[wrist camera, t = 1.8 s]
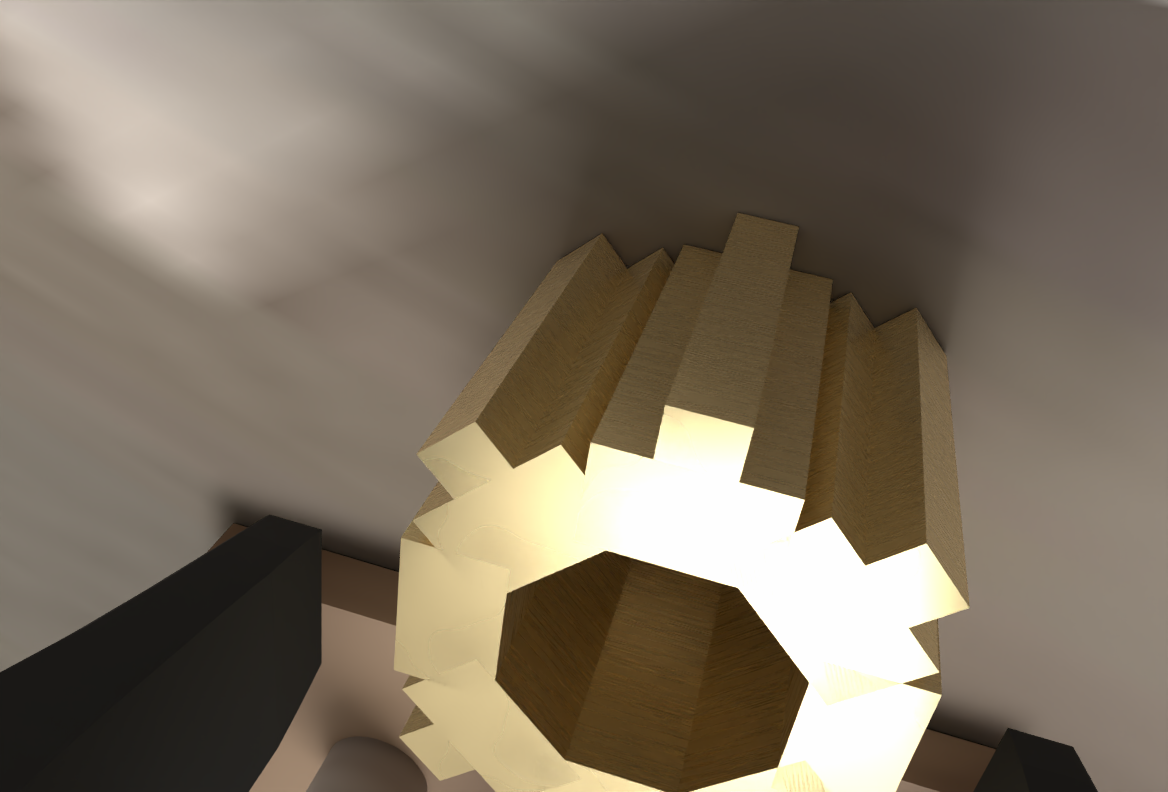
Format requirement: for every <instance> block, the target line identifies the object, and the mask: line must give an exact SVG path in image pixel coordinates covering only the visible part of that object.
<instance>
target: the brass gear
mask: <svg viewBox="0 0 1168 792" xmlns="http://www.w3.org/2000/svg"><path fill="white" fill-rule="evenodd" d="M798 229H799V227H798V226H794V225H790V224H785V223H781V222H777V221H772V220H768V219H764V218H759V217H755V216H750V215H746V214H742V213H738V214H737V216H736V219H735V222H734V224H733V227H732V230H731V232H730V235H729V238H728V240H727V243H726V246H725V248H724V251H723V253H718V252H714V251H710V250H706V249H702V248H697V247H693V246H689V245H685V244H684V246H683V248H682V250H681V252H680V254H679V256H678V258H677V260H676V263H675V264H674V263H673V261H672V260H671V259H670V257H669V256H668V254H667V253H666V251H665V250H664V248H661V249H659V250H658V251H656V252H654V253H652V254H651V255H649V256H647V257H646V258H644V259H642V260H641V261H639V262H637V263H636V264H634V265H632V266H631V267H629V268H627V267H626V266H625V265H624V263H623V262H622V260H621V259H620V258H619V256H618V255H617V253H616V252H615V250H614V249H613V248H612V246H611V245H610V243H609V242H608V241H607V239H606V238H605V236H604V235H603V233H601V234H600V235H598V236H597V237H595V238H593V239H592V240H590V241H589V242H587V243H586V244H584V245H582V246H581V247H579V248H578V249H576V250H574V251H573V252H571V253H570V254H568V255H566V256H565V257H563V258H562V259H560V260H558V261H557V262H556V264H555V265H554V266H553V268H552V269H551V270H550V272H549V273H548V275H547V276H546V277H545V279H544V280H543V281H542V283H541V284H540V286H539V287H538V288H537V290H536V291H535V292H534V294H533V295H532V297H531V298H530V299H529V301H528V302H527V303H526V305H525V306H524V307H523V309H522V310H521V312H520V313H519V314H518V316H517V317H516V318H515V320H514V321H513V323H512V324H511V325H510V327H509V328H508V329H507V331H506V332H505V334H504V335H503V336H502V338H501V339H500V340H499V342H498V343H497V345H496V346H495V347H494V349H493V350H492V351H491V353H490V354H489V355H488V357H487V358H486V360H485V361H484V362H483V364H482V365H481V366H480V368H479V369H478V371H477V372H476V373H475V375H474V376H473V377H472V379H471V380H470V382H469V383H468V384H467V386H466V387H465V388H464V390H463V391H462V393H461V394H460V395H459V397H458V398H457V399H456V401H455V402H454V403H453V405H452V406H451V408H450V409H449V410H448V412H447V413H446V414H445V416H444V417H443V419H442V420H441V421H440V423H439V424H438V425H437V427H436V428H435V430H434V431H433V432H432V434H431V435H430V436H429V438H428V439H427V441H426V442H425V443H424V445H423V446H422V447H421V449H420V450H419V451H418V453H417V455H418V457H419V458H420V459H421V460H422V461H423V463H424V464H425V465H426V466H427V467H428V469H429V470H430V471H431V472H432V474H433V475H434V476H435V477H436V478H437V480H438V483H437V484H436V486H435V487H434V489H433V490H432V492H431V493H430V495H429V496H428V498H427V499H426V501H425V502H424V504H423V505H422V507H421V508H420V510H419V511H418V513H417V514H416V516H415V517H414V519H413V520H412V522H411V524H410V525H409V527H408V528H407V530H406V531H405V533H404V534H403V536H402V537H401V547H400V566H399V584H398V602H397V620H396V639H395V657H394V670H395V671H398V672H402V673H405V674H408V675H409V677H408V679H407V681H406V683H405V684H404V686H403V688H402V690H403V691H404V692H405V693H406V694H407V695H408V696H409V697H410V699H411V700H412V701H413V702H414V703H415V704H416V706H415V708H414V709H413V711H412V713H411V715H410V717H409V719H408V721H407V723H406V725H405V726H404V728H403V730H402V732H401V734H400V736H399V738H400V739H401V740H402V741H403V742H404V743H405V744H406V745H407V746H408V747H409V748H410V749H411V750H412V751H413V753H414V754H415V755H416V756H417V757H418V758H419V759H420V760H421V761H422V762H423V763H424V764H425V765H426V766H427V768H428V769H429V770H430V771H431V772H432V773H433V774H434V775H435V776H436V777H437V778H438V779H439V780H440V781H441V780H444V779H447V778H450V777H453V776H457V775H460V774H463V773H466V772H469V771H472V770H476V771H477V772H478V773H479V774H480V775H481V776H482V777H483V778H484V780H485V781H486V782H487V783H488V784H489V785H490V786H491V787H492V788H493V789H494V791H495V792H896V789H897V787H898V785H899V783H900V781H901V779H902V777H903V775H904V773H905V771H906V769H907V767H908V765H909V762H910V760H911V758H912V756H913V754H914V752H915V750H916V748H917V746H918V744H919V742H920V740H921V738H922V735H923V733H924V731H925V729H926V727H927V725H928V723H929V721H930V719H931V717H932V715H933V713H934V710H935V708H936V706H937V704H938V702H939V700H940V698H941V696H942V689H941V670H940V652H939V633H938V618H940V617H943V616H946V615H949V614H952V613H955V612H958V611H962V610H965V609H968V608H970V607H969V597H968V586H967V575H966V564H965V553H964V543H963V532H962V521H961V510H960V499H959V489H958V478H957V467H956V456H955V445H954V435H953V424H952V413H951V402H950V391H949V381H948V370H947V359H946V355H945V353H944V351H943V350H942V348H941V346H940V345H939V343H938V342H937V340H936V338H935V337H934V335H933V334H932V332H931V330H930V329H929V327H928V325H927V324H926V322H925V321H924V319H923V317H922V316H921V314H920V313H919V311H918V309H917V308H915V309H913V310H911V311H908V312H906V313H904V314H902V315H900V316H898V317H896V318H894V319H892V320H890V321H888V322H886V323H884V324H882V325H880V326H878V327H876V328H874V327H873V325H872V324H871V322H870V321H869V319H868V318H867V316H866V314H865V313H864V311H863V310H862V308H861V307H860V305H859V303H858V302H857V300H856V299H855V297H854V296H853V294H852V292H851V293H849V294H847V295H845V296H843V297H841V298H839V299H837V300H835V301H833V302H831V303H830V298H831V290H832V283H833V279H829V278H824V277H820V276H816V275H812V274H807V273H803V272H799V271H795V270H790V265H791V260H792V256H793V251H794V247H795V242H796V238H797V233H798Z"/></svg>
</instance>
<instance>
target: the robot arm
mask: <svg viewBox="0 0 1168 792" xmlns="http://www.w3.org/2000/svg"><path fill="white" fill-rule="evenodd" d="M321 664H322V530H321V529H317V528H314V527H310V526H307V525H303V524H300V523H297V522H293V521H290V520H286V519H283V518H279V517H276V516H272V515H268V516H267V517H265V518H263V519H261V520H260V521H258V522H256V523H255V524H253V525H251V526H250V527H248V528H246V529H245V530H243V531H241V532H240V533H238V534H236V535H235V536H233V537H231V538H230V539H228V540H227V541H225V542H223V543H222V544H220V545H218V546H217V547H215V548H214V549H212V550H210V551H209V552H207V553H205V554H204V555H202V556H201V557H199V558H197V559H196V560H194V561H193V562H191V563H189V564H188V565H186V566H184V567H183V568H181V569H180V570H178V571H176V572H175V573H173V574H171V575H170V576H168V577H167V578H165V579H163V580H162V581H160V582H158V583H157V584H155V585H154V586H152V587H150V588H149V589H147V590H145V591H144V592H142V593H140V594H138V595H137V596H135V597H133V598H132V599H130V600H128V601H127V602H125V603H123V604H122V605H120V606H118V607H116V608H115V609H113V610H111V611H110V612H108V613H106V614H105V615H103V616H101V617H99V618H98V619H96V620H94V621H93V622H91V623H89V624H88V625H86V626H84V627H82V628H81V629H79V630H77V631H75V632H74V633H72V634H70V635H68V636H67V637H65V638H63V639H61V640H59V641H58V642H56V643H54V644H52V645H50V646H48V647H46V648H45V649H43V650H41V651H39V652H37V653H35V654H33V655H32V656H30V657H28V658H26V659H24V660H22V661H20V662H19V663H17V664H15V665H13V666H11V667H9V668H7V669H6V670H4V671H2V672H0V792H249V791H250V789H251V788H252V786H253V785H254V783H255V782H256V780H257V779H258V777H259V776H260V774H261V773H262V771H263V770H264V768H265V767H266V765H267V764H268V762H269V761H270V759H271V758H272V756H273V755H274V753H275V752H276V750H277V749H278V747H279V745H280V743H281V741H282V739H283V738H284V736H285V734H286V732H287V730H288V728H289V726H290V724H291V723H292V721H293V719H294V717H295V715H296V713H297V711H298V709H299V707H300V705H301V703H302V702H303V700H304V698H305V696H306V694H307V692H308V690H309V688H310V686H311V684H312V682H313V680H314V678H315V676H316V674H317V672H318V670H319V668H320V666H321ZM973 792H1098V791H1097V789H1096V787H1095V786H1094V784H1093V782H1092V780H1091V778H1090V776H1089V775H1088V773H1087V771H1086V769H1085V767H1084V766H1083V764H1082V762H1081V760H1080V758H1079V757H1078V755H1077V753H1076V751H1075V750H1074V748H1073V747H1072V746H1069V745H1065V744H1062V743H1058V742H1055V741H1051V740H1048V739H1044V738H1041V737H1037V736H1034V735H1031V734H1027V733H1024V732H1020V731H1017V730H1013V729H1010V728H1008V729H1007V731H1006V733H1005V734H1004V736H1003V738H1002V740H1001V742H1000V744H999V745H998V747H997V749H996V751H995V753H994V755H993V756H992V758H991V760H990V762H989V764H988V766H987V767H986V769H985V771H984V773H983V775H982V777H981V778H980V780H979V782H978V784H977V786H976V788H975V789H974V791H973Z"/></svg>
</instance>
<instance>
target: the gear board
mask: <svg viewBox="0 0 1168 792" xmlns="http://www.w3.org/2000/svg"><path fill="white" fill-rule="evenodd" d="M246 528H248V527H245V526H241V525H238V524H234V523H233V524H232V526H231V527H230V528H229V529H228V530H227V531H226V532H225V533H224V534H223V535H222V536H221V538H220V539H219V540H218V541H217V542H216V543H215V544H214V545H213V546H212V547H211V549H210V550H212V549H214V548H215V547H217V546H218V545H220V544H222V543H223V542H225V541H227V540H228V539H230V538H231V537H233V536H235V535H236V534H238V533H240V532H241V531H243V530H245V529H246ZM210 550H209V551H210ZM209 551H208V552H209ZM398 584H399V572H396V571H393V570H389V569H386V568H383V567H379V566H376V565H373V564H369V563H366V562H362V561H359V560H356V559H352V558H349V557H346V556H342V555H339V554H335V553H332V552H329V551H325V550H322V664H321V666H320V668H319V670H318V672H317V674H316V676H315V678H314V680H313V682H312V684H311V686H310V688H309V690H308V692H307V694H306V696H305V698H304V700H303V702H302V703H301V705H300V707H299V709H298V711H297V713H296V715H295V717H294V719H293V721H292V723H291V724H290V726H289V728H288V730H287V732H286V734H285V736H284V738H283V739H282V741H281V743H280V745H279V747H278V749H277V750H276V752H275V753H274V755H273V756H272V758H271V759H270V761H269V762H268V764H267V765H266V767H265V768H264V770H263V771H262V773H261V774H260V776H259V777H258V779H257V780H256V782H255V783H254V785H253V786H252V788H251V789H250V791H249V792H495V791H494V789H493V788H492V787H491V786H490V785H489V784H488V783H487V782H486V781H485V780H484V778H483V777H482V776H481V775H480V774H479V773H478V772H477V771H476V770H472V771H469V772H466V773H463V774H460V775H457V776H453V777H450V778H447V779H444V780H441V781H440V780H439V779H438V778H437V777H436V776H435V775H434V774H433V773H432V772H431V771H430V770H429V769H428V768H427V766H426V765H425V764H424V763H423V762H422V761H421V760H420V759H419V758H418V757H417V756H416V755H415V754H414V753H413V751H412V750H411V749H410V748H409V747H408V746H407V745H406V744H405V743H404V742H403V741H402V740H401V739H400V738H399V736H400V734H401V732H402V730H403V728H404V726H405V725H406V723H407V721H408V719H409V717H410V715H411V713H412V711H413V709H414V708H415V706H416V704H415V703H414V702H413V701H412V700H411V699H410V697H409V696H408V695H407V694H406V693H405V692H404V691H403V690H402V688H403V686H404V684H405V683H406V681H407V679H408V677H409V675H408V674H405V673H402V672H398V671H395V670H394V657H395V639H396V620H397V602H398ZM995 751H996V749H993V748H989V747H986V746H983V745H979V744H976V743H972V742H969V741H966V740H962V739H959V738H956V737H952V736H949V735H945V734H942V733H939V732H935V731H932V730H929V729H925V731H924V733H923V735H922V738H921V740H920V742H919V744H918V746H917V748H916V750H915V752H914V754H913V756H912V758H911V760H910V762H909V765H908V767H907V769H906V771H905V773H904V775H903V777H902V779H901V781H900V783H899V785H898V787H897V789H896V792H973V791H974V789H975V788H976V786H977V784H978V782H979V780H980V778H981V777H982V775H983V773H984V771H985V769H986V767H987V766H988V764H989V762H990V760H991V758H992V756H993V755H994V753H995Z"/></svg>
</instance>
